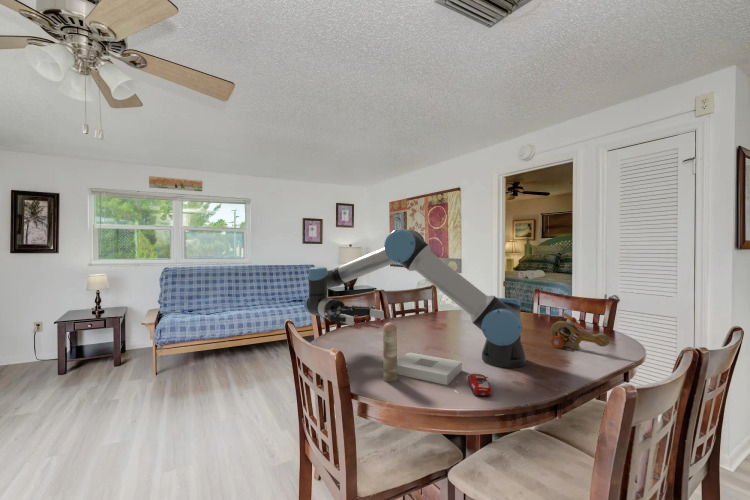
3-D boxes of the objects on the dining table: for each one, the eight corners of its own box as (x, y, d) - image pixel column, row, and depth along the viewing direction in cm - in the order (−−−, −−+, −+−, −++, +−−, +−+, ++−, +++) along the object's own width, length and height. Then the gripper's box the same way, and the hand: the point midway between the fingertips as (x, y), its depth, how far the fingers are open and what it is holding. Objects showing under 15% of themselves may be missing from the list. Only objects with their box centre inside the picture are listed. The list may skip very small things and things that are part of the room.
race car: (467, 379, 108) (467, 367, 108) (484, 380, 107) (484, 368, 107) (472, 398, 95) (472, 383, 94) (492, 399, 94) (492, 384, 94)
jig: (461, 370, 115) (461, 361, 115) (447, 385, 103) (447, 375, 103) (408, 360, 125) (408, 352, 125) (390, 372, 114) (390, 363, 114)
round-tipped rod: (399, 378, 108) (399, 322, 108) (393, 383, 105) (392, 324, 104) (387, 375, 111) (387, 320, 111) (380, 380, 107) (380, 323, 107)
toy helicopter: (556, 342, 145) (555, 310, 145) (612, 354, 129) (612, 318, 129) (547, 346, 140) (547, 313, 140) (605, 359, 124) (605, 321, 124)
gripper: (357, 314, 139) (394, 323, 123) (303, 324, 122) (338, 335, 106) (357, 296, 139) (394, 302, 123) (303, 303, 122) (338, 312, 106)
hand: (368, 317), depth 115 cm, fingers open, 13 cm apart
